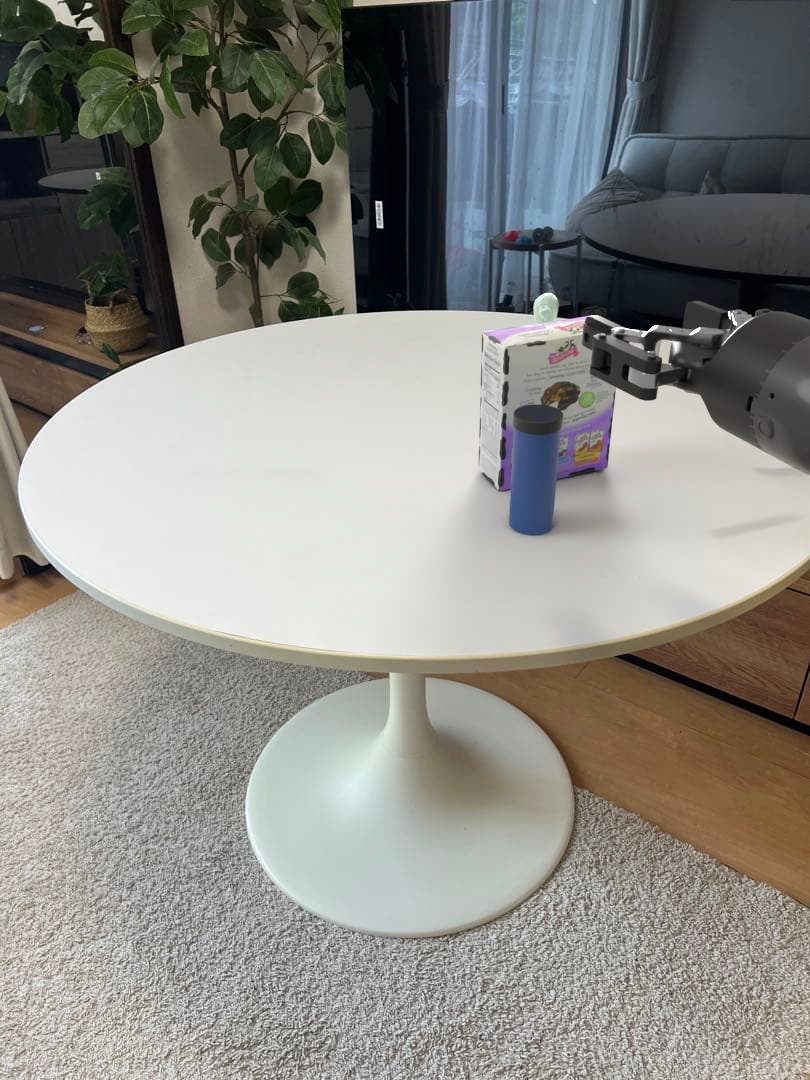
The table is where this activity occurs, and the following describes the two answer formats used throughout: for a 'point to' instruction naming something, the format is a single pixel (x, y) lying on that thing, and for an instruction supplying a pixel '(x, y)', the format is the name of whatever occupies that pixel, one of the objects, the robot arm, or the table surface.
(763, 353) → the robot arm
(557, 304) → the robot head
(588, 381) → the candy box
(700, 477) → the table surface
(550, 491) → the blue cylindrical container
